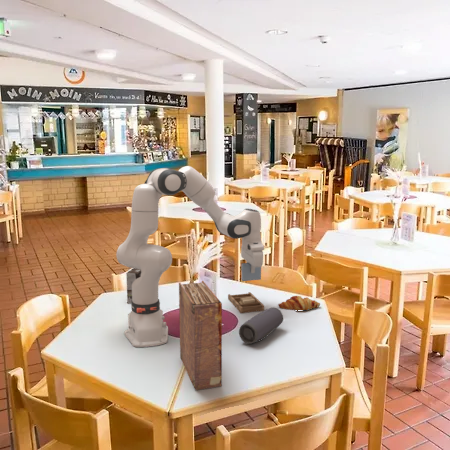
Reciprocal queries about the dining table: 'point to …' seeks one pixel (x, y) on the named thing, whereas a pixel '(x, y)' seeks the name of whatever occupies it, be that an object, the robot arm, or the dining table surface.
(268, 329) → the bluetooth speaker
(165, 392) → the dining table surface
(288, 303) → the croissant
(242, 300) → the offcut top
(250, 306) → the wooden tray
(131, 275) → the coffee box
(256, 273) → the blue-grey square slab
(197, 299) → the book
